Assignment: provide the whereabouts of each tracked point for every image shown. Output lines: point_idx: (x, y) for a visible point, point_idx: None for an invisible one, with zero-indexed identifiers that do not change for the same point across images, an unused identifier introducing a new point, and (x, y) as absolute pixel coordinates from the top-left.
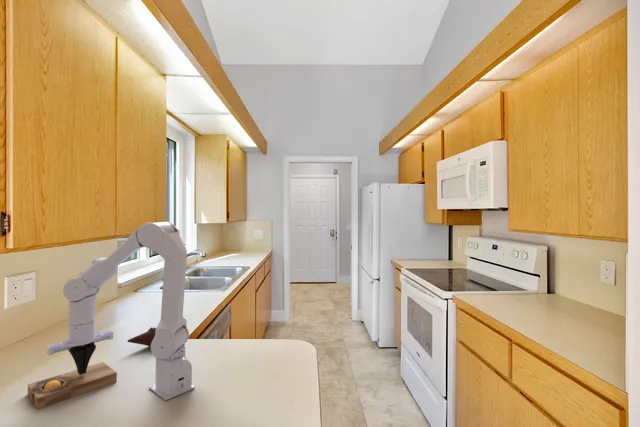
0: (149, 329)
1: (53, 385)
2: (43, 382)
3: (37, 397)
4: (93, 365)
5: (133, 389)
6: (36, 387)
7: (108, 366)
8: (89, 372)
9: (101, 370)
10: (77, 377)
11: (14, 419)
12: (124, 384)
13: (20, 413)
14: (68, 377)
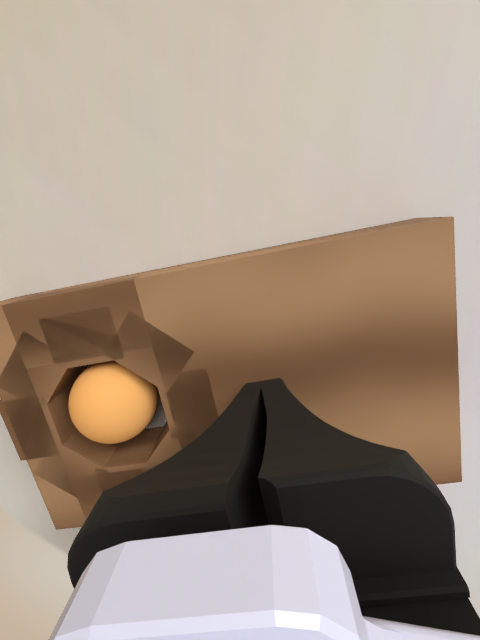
0: None
1: (111, 442)
2: (51, 345)
3: (53, 517)
4: (368, 247)
5: (463, 564)
6: (25, 392)
7: (454, 345)
8: (318, 370)
9: (393, 385)
10: None
11: (16, 511)
12: (450, 493)
13: (26, 478)
14: (190, 362)
